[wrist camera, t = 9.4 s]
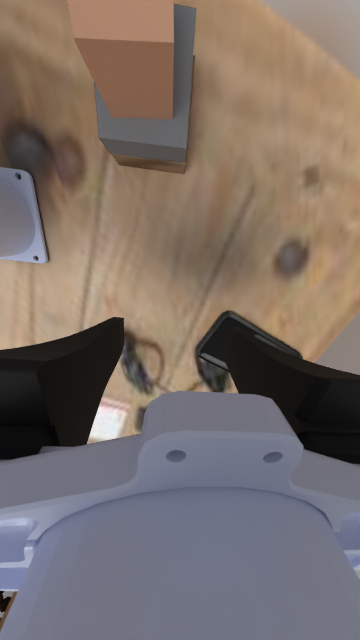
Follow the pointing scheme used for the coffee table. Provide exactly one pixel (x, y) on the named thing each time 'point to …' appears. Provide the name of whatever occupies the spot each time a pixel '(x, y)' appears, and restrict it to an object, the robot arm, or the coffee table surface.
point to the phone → (215, 339)
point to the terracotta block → (128, 53)
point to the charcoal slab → (157, 134)
